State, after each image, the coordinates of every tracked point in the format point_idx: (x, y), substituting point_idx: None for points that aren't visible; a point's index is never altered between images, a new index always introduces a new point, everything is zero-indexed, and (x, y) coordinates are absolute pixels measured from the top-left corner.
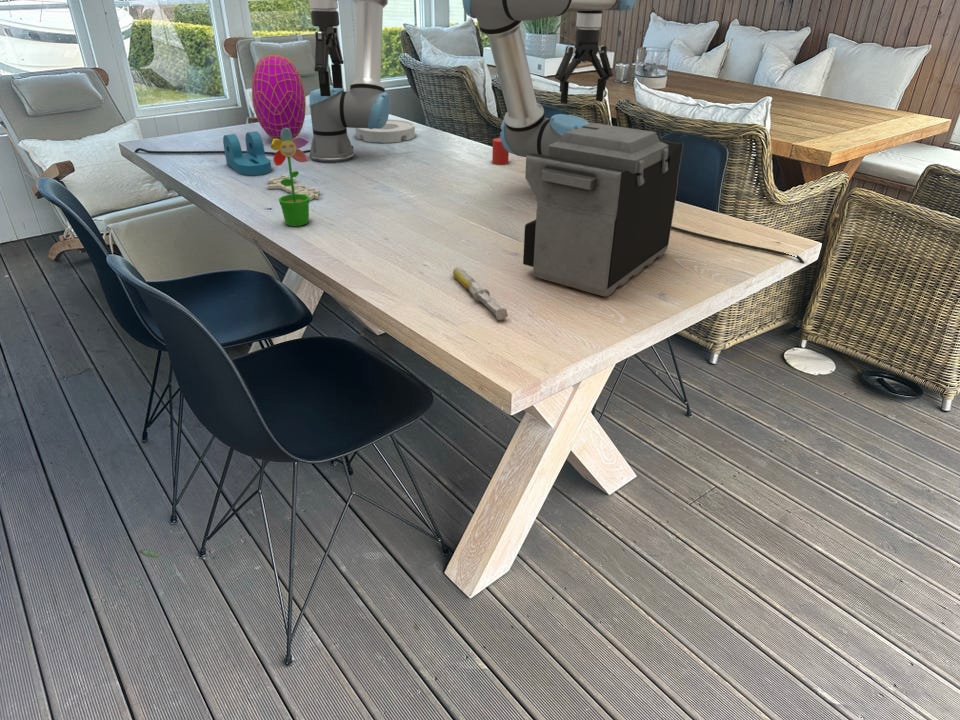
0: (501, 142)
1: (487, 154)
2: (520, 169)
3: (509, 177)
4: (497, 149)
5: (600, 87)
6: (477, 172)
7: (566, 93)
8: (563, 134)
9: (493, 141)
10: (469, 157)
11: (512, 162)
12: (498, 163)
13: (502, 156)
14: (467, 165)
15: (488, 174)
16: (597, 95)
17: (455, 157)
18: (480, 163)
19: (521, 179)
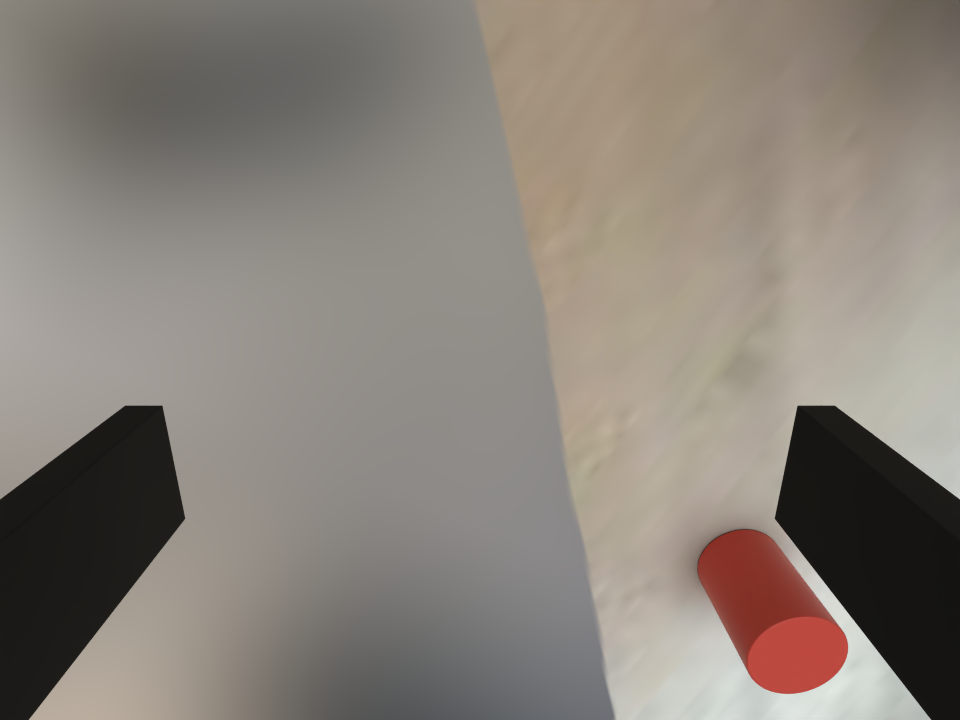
0: (825, 616)
1: (697, 698)
2: (729, 424)
3: (885, 315)
4: (816, 597)
5: (27, 580)
6: (956, 462)
7: (936, 492)
8: None
9: (843, 653)
10: None
11: (680, 547)
12: (774, 541)
13: (775, 558)
14: None
15: (936, 409)
16: (141, 536)
17: (858, 705)
18: None
19: (858, 252)
